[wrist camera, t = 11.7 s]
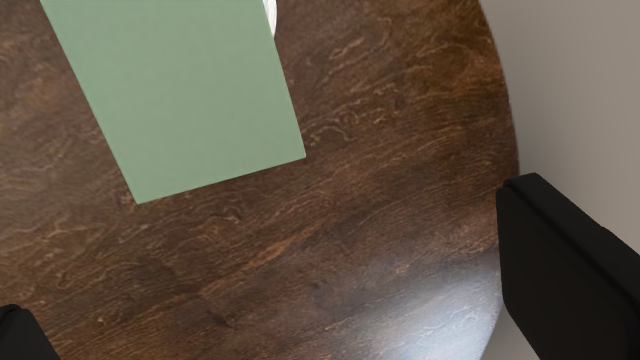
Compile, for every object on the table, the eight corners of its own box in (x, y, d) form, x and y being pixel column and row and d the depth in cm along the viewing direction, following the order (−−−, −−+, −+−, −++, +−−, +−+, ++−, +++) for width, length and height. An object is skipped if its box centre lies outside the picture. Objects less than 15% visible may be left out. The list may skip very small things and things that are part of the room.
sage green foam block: (0, -142, 18) (-36, -155, 15) (205, -200, 17) (198, -220, 15) (147, 180, 23) (136, 205, 21) (301, 137, 23) (306, 158, 21)
